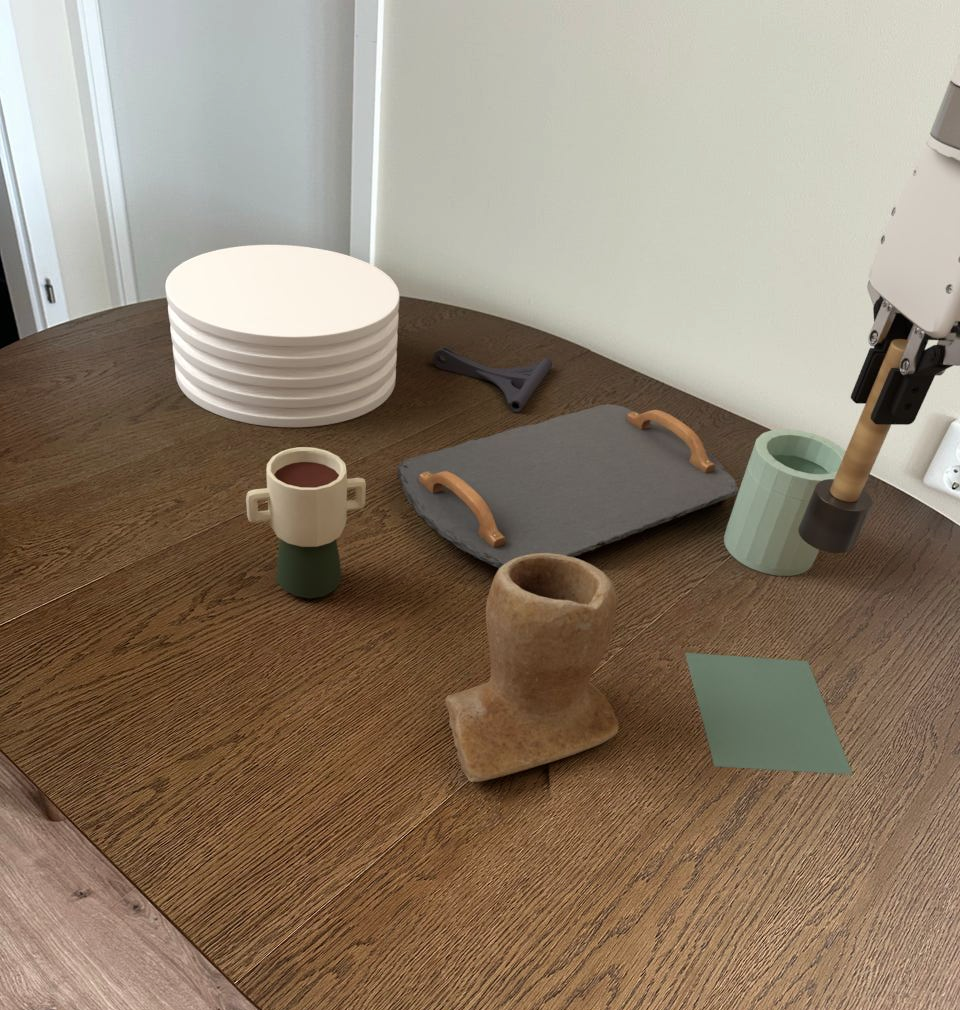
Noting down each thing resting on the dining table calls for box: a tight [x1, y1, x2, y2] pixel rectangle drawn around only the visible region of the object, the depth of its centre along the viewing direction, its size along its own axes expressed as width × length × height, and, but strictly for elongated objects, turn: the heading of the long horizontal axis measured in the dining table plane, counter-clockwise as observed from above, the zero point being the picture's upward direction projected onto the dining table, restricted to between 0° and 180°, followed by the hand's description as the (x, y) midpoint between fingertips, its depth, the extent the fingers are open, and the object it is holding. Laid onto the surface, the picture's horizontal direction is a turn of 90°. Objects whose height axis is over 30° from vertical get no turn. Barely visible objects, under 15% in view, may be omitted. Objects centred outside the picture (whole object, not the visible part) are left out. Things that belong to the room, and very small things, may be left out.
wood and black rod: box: [798, 339, 909, 554], centre depth 69 cm, size 4×4×16 cm
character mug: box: [245, 446, 367, 599], centre depth 87 cm, size 11×7×13 cm, turn 111°
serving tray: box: [396, 403, 740, 569], centre depth 106 cm, size 39×23×6 cm, turn 126°
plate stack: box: [164, 244, 400, 429], centre depth 119 cm, size 28×28×12 cm
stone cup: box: [444, 553, 619, 783], centre depth 75 cm, size 15×12×15 cm
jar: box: [723, 428, 846, 577], centre depth 100 cm, size 10×10×12 cm
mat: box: [684, 652, 854, 776], centre depth 84 cm, size 12×14×1 cm
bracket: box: [432, 346, 553, 413], centre depth 127 cm, size 14×15×3 cm
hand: (881, 410), depth 67 cm, fingers closed on wood and black rod, 2 cm apart
